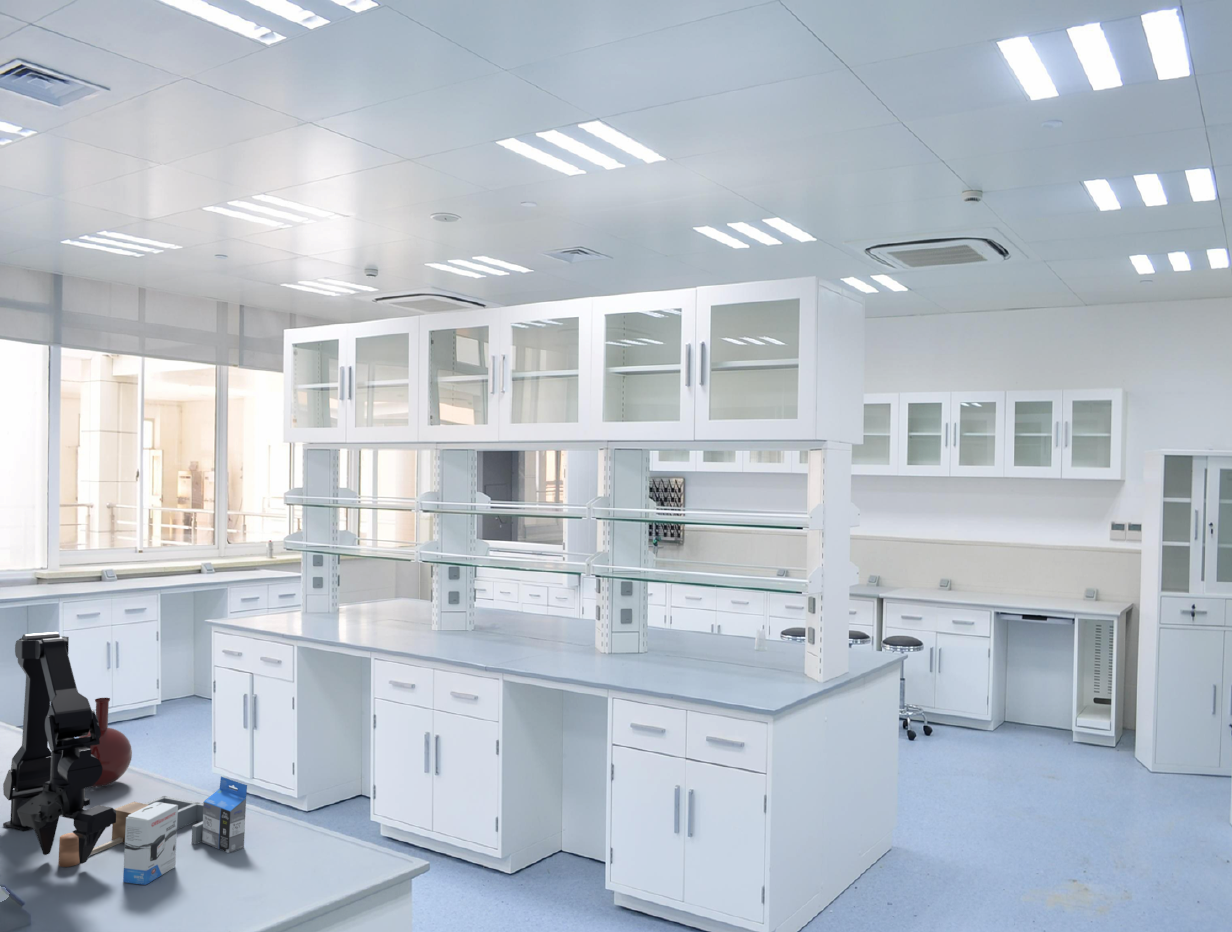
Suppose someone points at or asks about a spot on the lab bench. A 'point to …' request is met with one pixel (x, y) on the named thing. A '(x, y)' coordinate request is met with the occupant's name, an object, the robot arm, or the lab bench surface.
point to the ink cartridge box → (225, 817)
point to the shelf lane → (186, 815)
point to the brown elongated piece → (71, 845)
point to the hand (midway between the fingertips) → (64, 858)
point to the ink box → (150, 843)
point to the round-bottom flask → (110, 747)
